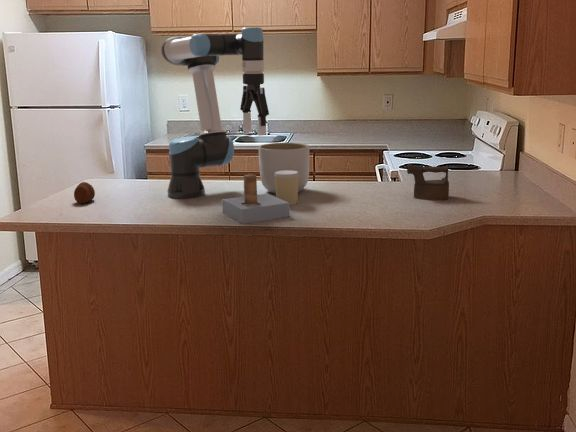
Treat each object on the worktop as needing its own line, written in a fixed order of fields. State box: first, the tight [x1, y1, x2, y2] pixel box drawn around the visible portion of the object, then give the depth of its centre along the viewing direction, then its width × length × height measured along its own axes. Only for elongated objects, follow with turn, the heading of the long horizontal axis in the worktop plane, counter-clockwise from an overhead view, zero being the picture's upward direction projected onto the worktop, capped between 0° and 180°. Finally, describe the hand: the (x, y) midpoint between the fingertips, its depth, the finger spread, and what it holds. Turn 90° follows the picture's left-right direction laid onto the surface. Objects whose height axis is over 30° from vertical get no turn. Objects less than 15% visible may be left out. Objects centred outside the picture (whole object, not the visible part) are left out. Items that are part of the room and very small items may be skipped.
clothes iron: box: [406, 163, 450, 201], centre depth 246 cm, size 8×16×13 cm, turn 87°
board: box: [221, 193, 291, 225], centre depth 227 cm, size 18×18×5 cm
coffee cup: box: [274, 170, 299, 206], centre depth 243 cm, size 9×9×12 cm
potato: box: [73, 181, 96, 205], centre depth 253 cm, size 8×12×8 cm, turn 0°
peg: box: [243, 174, 258, 206], centre depth 222 cm, size 5×5×15 cm
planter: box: [258, 142, 310, 195], centre depth 262 cm, size 21×21×19 cm
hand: (254, 132), depth 231 cm, fingers open, 13 cm apart
